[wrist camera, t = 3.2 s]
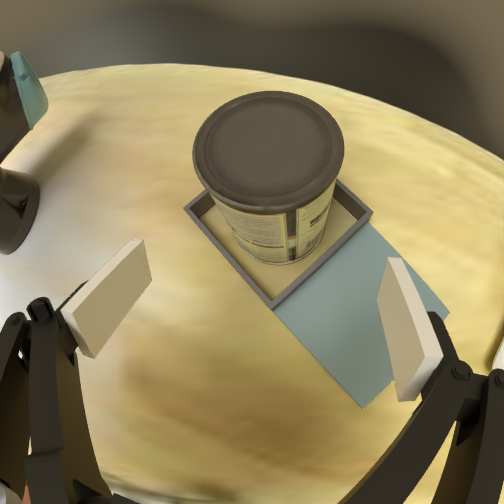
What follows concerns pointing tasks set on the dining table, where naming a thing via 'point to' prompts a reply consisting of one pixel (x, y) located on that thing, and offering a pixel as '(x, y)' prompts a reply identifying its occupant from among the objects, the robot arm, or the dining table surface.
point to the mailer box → (339, 300)
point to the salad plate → (499, 357)
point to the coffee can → (271, 171)
